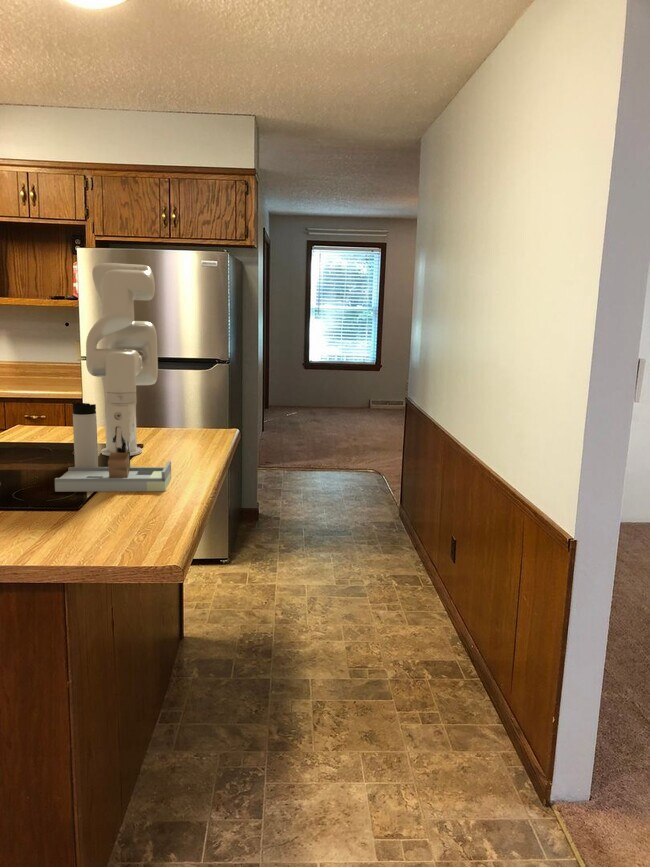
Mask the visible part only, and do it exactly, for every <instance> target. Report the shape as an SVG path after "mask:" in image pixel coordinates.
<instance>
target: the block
mask: <svg viewBox="0 0 650 867" xmlns="http://www.w3.org/2000/svg"><path fill="white" fill-rule="evenodd" d="M107 467H108V469H109V478H128V474H129V471H130V467H131V461H130V462H129V453H111V454H110V456H108V459H107Z"/></svg>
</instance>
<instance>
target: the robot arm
mask: <svg viewBox="0 0 650 867" xmlns="http://www.w3.org/2000/svg"><path fill="white" fill-rule="evenodd" d="M91 272H92V280H93V284H94V288H95V289H96V292H97V295H98V296H99V298H100V301H101V304H102V305H101V306H102V308H101V309H102V315H101V317H100V318H99V319H98V320H96V322H95V323H94V324H93V326H92V327H91V329H90V330H89V332H88V334H87V336H86V342H85V357H86V358H85V365H86V369H87V372H88V373H89V375H91V376H93V377H96V378H100V377H101V380H102V386H103V395H104V396H103V397H104V398H103V399H104V423H105V424H104V425H105V448H102V449H101V450H100V453H102V454H101V455H102V456H107V457H109V456H110V454H111V453H129V462H130V463H131V457H132V456H137V455H140V454H141V453H142V451H143V449H142V448H141V447H139V446H138V443H137V440H138V439H137V438H138V437H137V386H151V385H155V384H156V382H157V381H158V376H159V361H158V360H159V358H158V335H157V330H156V327H155V325H154V324H153V323H151V322H150V321H147V320H146V321H145V320H142V321H141V320H135V301H151V300H153V298H154V296H155V293H156V283H155V276H154V273H153V271H152V268H151V267H150V266H148V265H145V264H137V263H134V264H132V263H120V262H119V263H118V262H103V263H98V264H96V265H95V266H93V268H92V271H91ZM102 339H104V344H105V346H106V348H98V344H99V342H100V341H101V340H102ZM139 352H141V353H142V354H143V355H140V353H139Z"/></svg>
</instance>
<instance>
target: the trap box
mask: <svg viewBox="0 0 650 867" xmlns="http://www.w3.org/2000/svg"><path fill="white" fill-rule="evenodd" d="M67 470H68V471H66V472H65V473H63V475H61V476H60V477H55V478H54V492H57V493H58V492H59V493H60V492H67V493H68V492H166V490H167V488H168V486H169V484H170V482H171V481H172V461H171V460H167V462H166V464H165V465H164V466H130V471H129V474H128V478H109V469H108V466H98V467H75V466H70V467H68V469H67Z"/></svg>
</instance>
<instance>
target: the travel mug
mask: <svg viewBox="0 0 650 867" xmlns="http://www.w3.org/2000/svg"><path fill="white" fill-rule="evenodd" d="M71 405H72V427H73V428H72V429H73V452H74V467H99V454H98V452H99V451H98V424H97V422H98V420H97V419H98V418H97V410H96V409H97V406H96V405H97V404H95V403H93V404H92V403H89V402H88V403H87V402H85V403H84V402H78V401H77V402H75V401H74V402H72V404H71Z"/></svg>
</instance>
